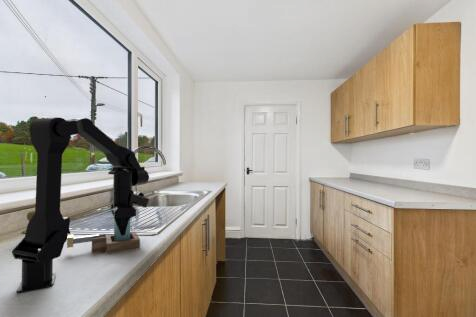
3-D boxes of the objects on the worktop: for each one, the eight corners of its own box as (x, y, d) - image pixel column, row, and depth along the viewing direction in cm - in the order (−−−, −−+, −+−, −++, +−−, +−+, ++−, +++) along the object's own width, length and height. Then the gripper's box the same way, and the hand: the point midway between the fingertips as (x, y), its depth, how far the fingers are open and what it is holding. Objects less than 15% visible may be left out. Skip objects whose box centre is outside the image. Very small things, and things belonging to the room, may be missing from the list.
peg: (131, 241, 84) (131, 214, 84) (114, 243, 81) (114, 216, 81) (129, 237, 88) (129, 212, 88) (113, 239, 85) (113, 213, 85)
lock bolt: (99, 243, 80) (99, 233, 80) (67, 247, 75) (67, 237, 75) (98, 240, 82) (98, 231, 82) (67, 244, 78) (67, 235, 78)
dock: (139, 248, 83) (139, 235, 83) (91, 256, 76) (91, 241, 76) (135, 239, 91) (135, 227, 91) (91, 246, 84) (91, 233, 84)
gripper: (153, 189, 81) (152, 237, 81) (142, 183, 97) (142, 223, 97) (114, 190, 75) (114, 242, 75) (110, 185, 91) (110, 227, 91)
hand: (122, 233), depth 85 cm, fingers closed on peg, 5 cm apart
